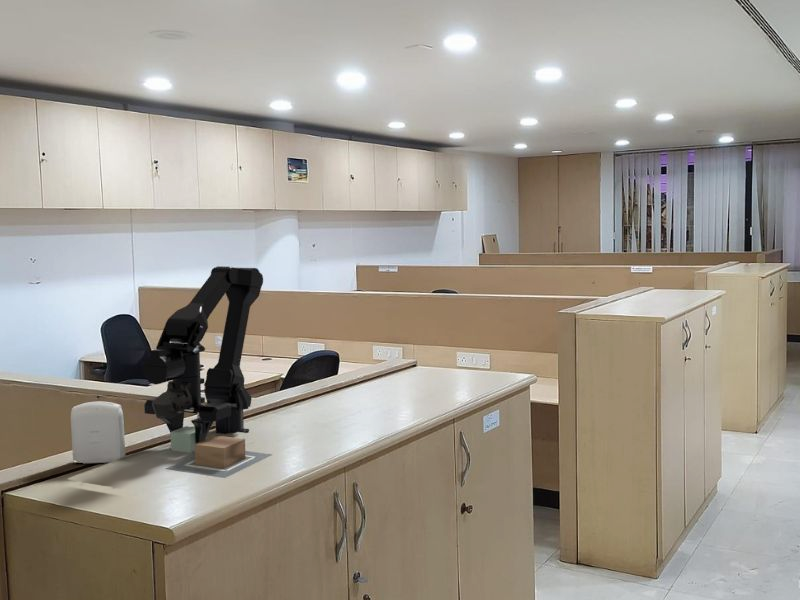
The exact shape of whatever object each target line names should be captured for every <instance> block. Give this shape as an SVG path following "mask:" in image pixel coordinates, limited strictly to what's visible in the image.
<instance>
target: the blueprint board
mask: <svg viewBox="0 0 800 600" xmlns="http://www.w3.org/2000/svg"><path fill="white" fill-rule="evenodd" d="M271 456H273V454H272V453H264V452H257V451H249V450H245V457H246V459H243V460H241V461H239V462H237V463H235V464H233V465H231V466H229V467H226V468H218V467H211V466H204V465H197V464H195V455H194V456H192V457H190V458H187V459H185V460H182V461H179V462H178V463H176V464H174V465H171V466H169V467H166V468H165V470H171V471H178V472H184V473H190V474H197V475H204V476H209V477H211V476H212V477H215V478H216V477H218V478H224V479H226V478H228V477H230V476H232V475H235V474H236V473H239V472H240V471H243V470H244V469H247V468H249V467H250V466H252V465H255V464H256V463H259V462H260V461H263V460H265V459H267V458H269V457H271Z"/></svg>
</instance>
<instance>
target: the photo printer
mask: <svg viewBox="0 0 800 600" xmlns="http://www.w3.org/2000/svg"><path fill="white" fill-rule="evenodd" d="M124 423H125V422H124V413H123V407H122V405H121V404H118V403H116V402H112V401H111V402H109V401H100V400H99V401H97V400H96V401H88V402H84V403H81V404H78V405H75V406H73V408H71V412H70V427H71V428H70V430H71V445H72V446H71V447H72V449H71V450H72V460H76V461H79V462H81V463H83V464H100V463H101V464H102V463H113V462H115V461H117V460H118V461H119V460H120V459H123V458H125V457H126V441H125V427H124V426H125V424H124Z"/></svg>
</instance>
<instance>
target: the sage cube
mask: <svg viewBox="0 0 800 600" xmlns="http://www.w3.org/2000/svg"><path fill="white" fill-rule="evenodd" d="M195 444H196V439H195V426H188V425H187V426H183V428H180V429H177V430H174V431H172V432H171V433H170V449H171V451H174V452H175V451H176V452H181V453H188V454H190V453H195Z"/></svg>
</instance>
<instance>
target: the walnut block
mask: <svg viewBox="0 0 800 600" xmlns="http://www.w3.org/2000/svg"><path fill="white" fill-rule="evenodd" d="M245 451H246V439H245V438H239V437H230V436H222V435H215V436H212V437H209V438H206V439H205V440H204V441H202V442H199V443H197V444H195V451H194V456H195V464H197V465H204V466H211V467H218V468H226V467H229V466H231V465H233V464H235V463H237V462H239V461H241V460H243V459H246V457H245Z"/></svg>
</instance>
